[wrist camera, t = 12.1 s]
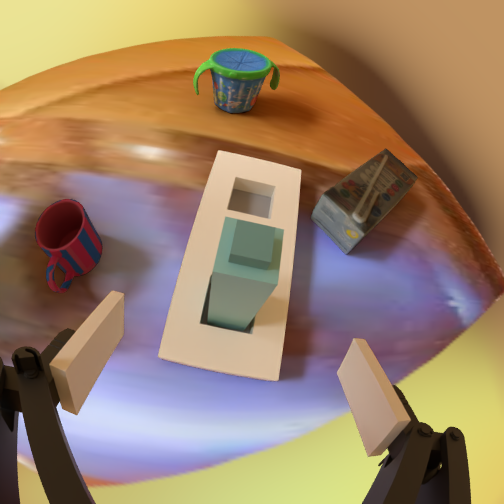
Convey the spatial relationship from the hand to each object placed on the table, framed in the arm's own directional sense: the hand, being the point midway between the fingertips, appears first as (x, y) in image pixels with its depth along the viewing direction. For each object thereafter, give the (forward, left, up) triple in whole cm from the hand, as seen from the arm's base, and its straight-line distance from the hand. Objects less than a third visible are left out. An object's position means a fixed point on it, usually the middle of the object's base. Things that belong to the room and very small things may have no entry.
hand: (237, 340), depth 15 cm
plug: (0, +6, -15) cm, 17 cm away
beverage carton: (+17, +26, -16) cm, 35 cm away
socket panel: (0, +13, -16) cm, 21 cm away
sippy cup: (-7, +44, -16) cm, 47 cm away
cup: (-20, +7, -16) cm, 27 cm away
